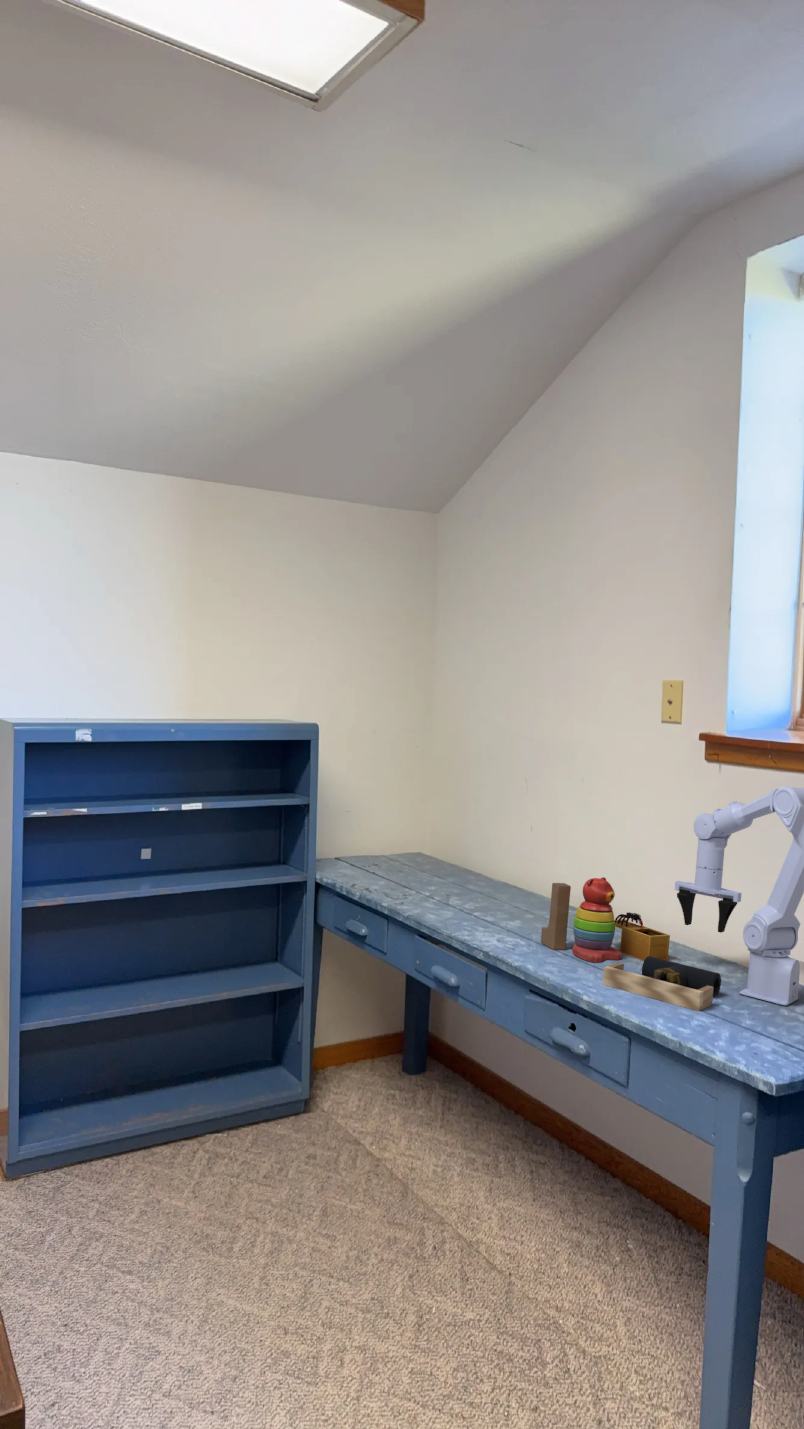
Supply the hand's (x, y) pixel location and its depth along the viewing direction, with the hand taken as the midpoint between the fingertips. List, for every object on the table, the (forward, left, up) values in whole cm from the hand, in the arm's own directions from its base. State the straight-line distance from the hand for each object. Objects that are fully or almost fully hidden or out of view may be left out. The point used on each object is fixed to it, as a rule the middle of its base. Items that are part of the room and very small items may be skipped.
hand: (704, 928), depth 211 cm
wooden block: (+31, +12, -10) cm, 35 cm away
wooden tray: (-2, +27, -9) cm, 29 cm away
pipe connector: (-3, +21, -10) cm, 23 cm away
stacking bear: (+21, +11, -10) cm, 26 cm away
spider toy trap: (+16, 0, -10) cm, 19 cm away
